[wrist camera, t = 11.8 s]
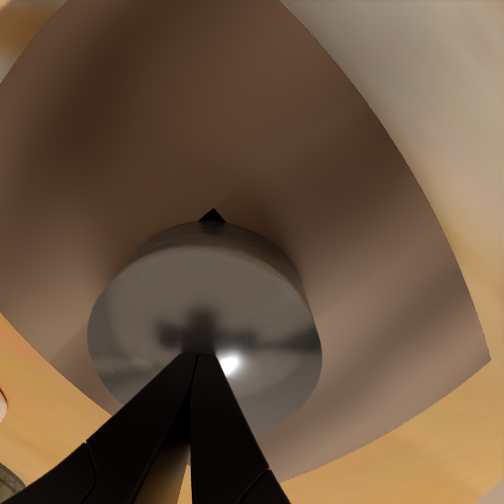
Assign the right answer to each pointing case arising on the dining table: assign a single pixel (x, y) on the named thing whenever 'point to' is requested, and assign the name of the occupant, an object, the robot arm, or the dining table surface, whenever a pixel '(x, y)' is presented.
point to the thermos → (9, 484)
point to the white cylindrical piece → (2, 407)
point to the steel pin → (210, 318)
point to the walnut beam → (227, 201)
